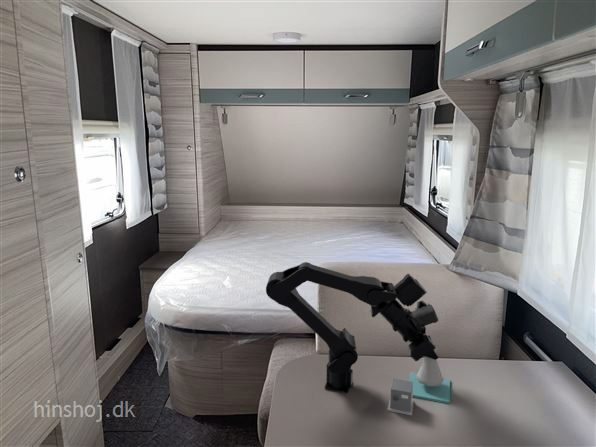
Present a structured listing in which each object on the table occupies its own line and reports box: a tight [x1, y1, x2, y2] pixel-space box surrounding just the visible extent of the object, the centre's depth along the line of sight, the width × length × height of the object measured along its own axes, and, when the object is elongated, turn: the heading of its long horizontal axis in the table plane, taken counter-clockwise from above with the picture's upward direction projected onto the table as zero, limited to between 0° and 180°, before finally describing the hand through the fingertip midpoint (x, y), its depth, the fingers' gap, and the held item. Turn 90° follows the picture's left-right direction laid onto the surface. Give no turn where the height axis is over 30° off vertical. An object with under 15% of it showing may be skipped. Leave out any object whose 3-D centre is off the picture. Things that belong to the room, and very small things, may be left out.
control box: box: [387, 377, 414, 416], centre depth 114 cm, size 6×6×6 cm
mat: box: [408, 371, 451, 405], centre depth 122 cm, size 11×11×1 cm
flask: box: [416, 344, 444, 386], centre depth 121 cm, size 7×7×10 cm
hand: (435, 355), depth 120 cm, fingers closed on flask, 3 cm apart
